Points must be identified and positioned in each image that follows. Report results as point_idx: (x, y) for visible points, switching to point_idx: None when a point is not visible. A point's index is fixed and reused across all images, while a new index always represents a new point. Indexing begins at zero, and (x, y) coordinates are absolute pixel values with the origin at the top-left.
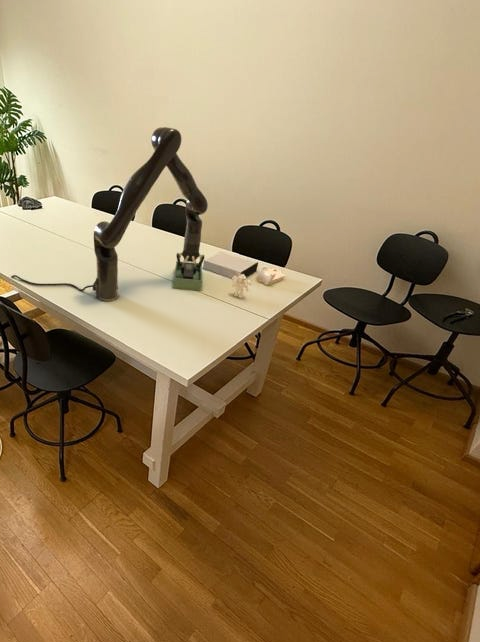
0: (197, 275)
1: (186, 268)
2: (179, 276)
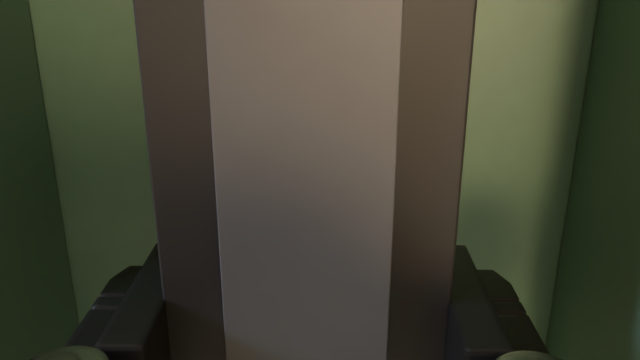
0: (547, 11)
1: (232, 322)
2: (133, 148)
